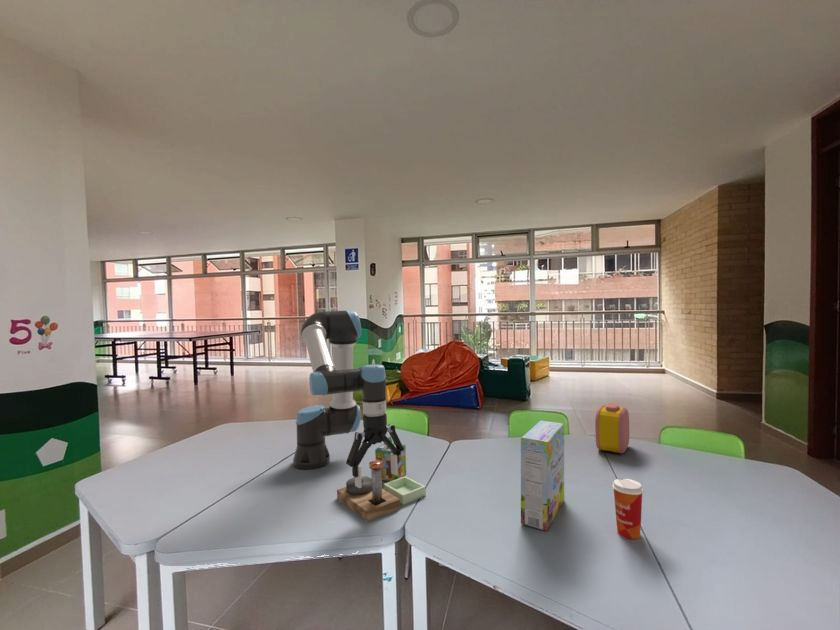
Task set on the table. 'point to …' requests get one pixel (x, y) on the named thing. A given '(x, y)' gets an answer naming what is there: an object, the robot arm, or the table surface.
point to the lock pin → (376, 481)
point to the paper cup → (628, 507)
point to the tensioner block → (366, 499)
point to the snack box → (542, 474)
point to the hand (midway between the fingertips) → (377, 480)
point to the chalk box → (385, 455)
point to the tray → (405, 489)
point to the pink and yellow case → (612, 428)
